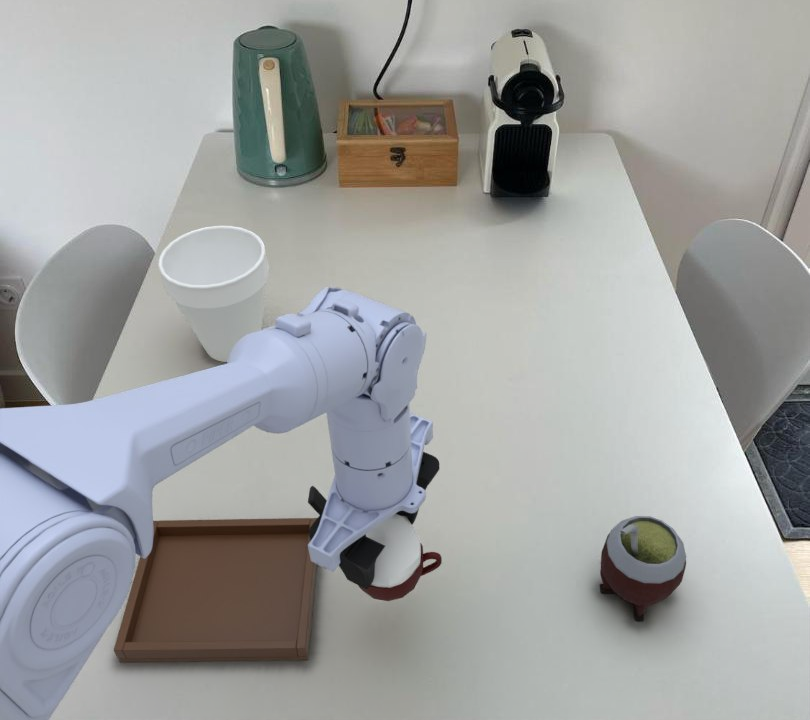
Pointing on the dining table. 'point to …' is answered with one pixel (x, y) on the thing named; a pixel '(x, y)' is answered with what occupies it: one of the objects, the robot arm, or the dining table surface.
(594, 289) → the dining table surface
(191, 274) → the cup
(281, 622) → the tray
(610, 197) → the dining table surface
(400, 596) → the cocoa
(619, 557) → the mate gourd
